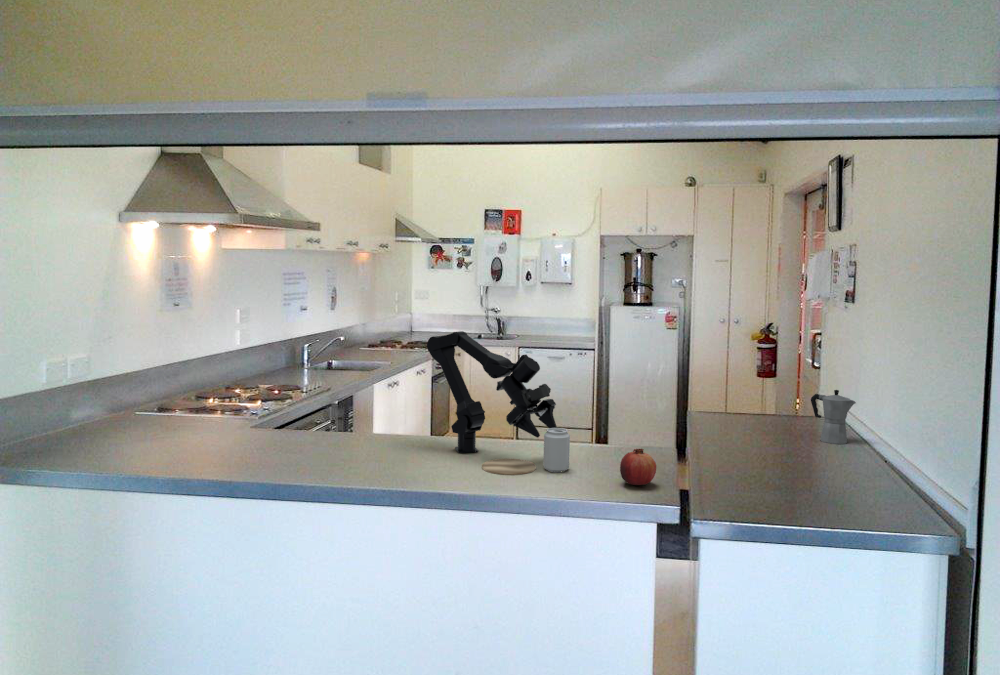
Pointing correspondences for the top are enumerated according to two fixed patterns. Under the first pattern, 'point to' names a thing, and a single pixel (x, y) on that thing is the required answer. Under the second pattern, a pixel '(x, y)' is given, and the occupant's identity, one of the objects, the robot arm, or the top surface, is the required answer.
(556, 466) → the can
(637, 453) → the fruit
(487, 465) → the trivet
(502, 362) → the robot arm
